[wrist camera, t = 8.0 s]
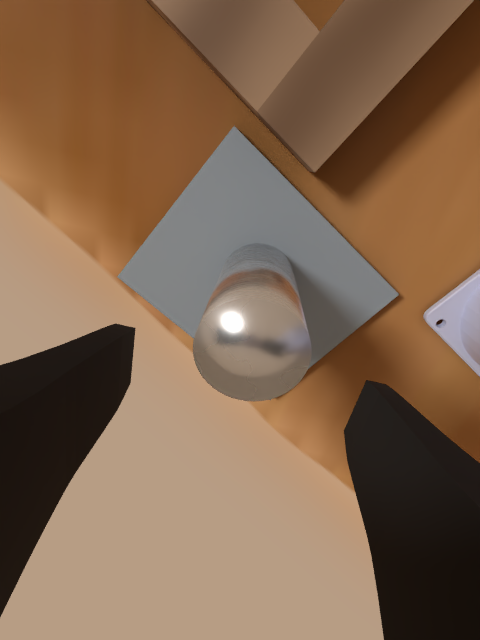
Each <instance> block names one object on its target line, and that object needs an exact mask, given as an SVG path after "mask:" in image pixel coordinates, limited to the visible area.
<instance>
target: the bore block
mask: <svg viewBox="0 0 480 640" xmlns="http://www.w3.org/2000/svg"><path fill="white" fill-rule="evenodd" d="M146 1H147V2H148V3H149V4H150V5H151V6H152V7H153V8H154V9H155V10H156V11H157V12H158V13H159V14H160V15H161V17H162V18H163V19H164V20H165V21H166V22H167V23H168V24H169V25H170V26H171V27H172V28H173V29H174V30H175V31H176V32H177V33H178V34H179V35H180V37H181V38H182V39H183V40H184V41H185V42H186V43H187V44H188V45H189V46H190V47H191V48H192V49H193V50H194V51H195V52H196V53H197V54H198V55H199V56H200V58H201V59H202V60H203V61H204V62H205V63H206V64H207V65H208V66H209V67H210V68H211V69H212V70H213V71H214V72H215V73H216V74H217V75H218V76H219V77H220V79H221V80H222V81H223V82H224V83H225V84H226V85H227V86H228V87H229V88H230V89H231V90H232V91H233V92H234V93H235V94H236V95H237V96H238V97H239V98H240V100H241V101H242V102H243V103H244V104H245V105H246V106H247V107H248V108H249V109H250V110H251V111H252V112H253V113H254V114H255V115H256V116H257V117H258V118H259V120H260V121H261V122H262V123H263V124H264V125H265V126H266V127H267V128H268V129H269V130H270V131H271V132H272V133H273V134H274V135H275V136H276V137H277V138H278V139H279V141H280V142H281V143H282V144H283V145H284V146H285V147H286V148H287V149H288V150H289V151H290V152H291V153H292V154H293V155H294V156H295V157H296V158H297V159H298V160H299V162H300V163H301V164H302V165H303V166H304V167H305V168H306V169H307V170H308V171H310V172H316V171H317V170H318V169H319V168H320V166H321V165H322V164H323V163H324V162H325V161H326V160H327V159H328V158H329V157H330V156H331V155H332V153H333V152H334V151H335V150H336V149H337V148H338V147H339V146H340V145H341V144H342V143H343V142H344V140H345V139H346V138H347V137H348V136H349V135H350V134H351V133H352V132H353V131H354V130H355V129H356V127H357V126H358V125H359V124H360V123H361V122H362V121H363V120H364V119H365V118H366V117H367V116H368V114H369V113H370V112H371V111H372V110H373V109H374V108H375V107H376V106H377V105H378V104H379V103H380V101H381V100H382V99H383V98H384V97H385V96H386V95H387V94H388V93H389V92H390V91H391V90H392V88H393V87H394V86H395V85H396V84H397V83H398V82H399V81H400V80H401V79H402V78H403V77H404V75H405V74H406V73H407V72H408V71H409V70H410V69H411V68H412V67H413V66H414V65H415V64H416V62H417V61H418V60H419V59H420V58H421V57H422V56H423V55H424V54H425V53H426V52H427V51H428V50H429V48H430V47H431V46H432V45H433V44H434V43H435V42H436V41H437V40H438V39H439V38H440V37H441V35H442V34H443V33H444V32H445V31H446V30H447V29H448V28H449V27H450V26H451V25H452V24H453V22H454V21H455V20H456V19H457V18H458V17H459V16H460V15H461V14H462V13H463V12H464V11H465V9H466V8H467V7H468V6H469V5H470V4H471V3H472V2H473V1H474V0H344V2H343V3H342V4H341V5H340V7H339V8H338V9H337V11H336V12H335V13H334V14H333V16H332V17H331V18H330V19H329V21H328V22H327V23H326V24H325V26H324V27H323V28H322V30H321V31H319V30H318V29H317V28H316V27H315V25H314V24H313V23H312V22H311V21H310V19H309V18H308V17H307V16H306V15H305V14H304V12H303V11H302V10H301V9H300V8H299V6H298V5H297V4H296V3H295V2H294V0H146Z"/></svg>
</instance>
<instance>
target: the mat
mask: <svg viewBox="0 0 480 640" xmlns="http://www.w3.org/2000/svg"><path fill="white" fill-rule="evenodd" d="M253 243H262V244H267V245H271V246H273V247H275V248H277V249H278V250H280V251H281V252H282V253H283V254H284V255H285V256H286V257H287V258H288V260H289V261H290V263H291V265H292V268H293V272H294V276H295V280H296V284H297V288H298V292H299V296H300V301H301V305H302V309H303V313H304V317H305V321H306V325H307V329H308V333H309V337H310V342H311V360H310V364H309V367H308V369H309V368H310V367H311V366H312V365H314V364H315V363H316V362H317V361H319V360H320V359H321V358H322V357H323V356H325V355H326V354H327V353H328V352H330V351H331V350H332V349H333V348H334V347H336V346H337V345H338V344H339V343H341V342H342V341H343V340H344V339H345V338H347V337H348V336H349V335H350V334H352V333H353V332H354V331H355V330H356V329H358V328H359V327H360V326H361V325H363V324H364V323H365V322H366V321H367V320H369V319H370V318H371V317H372V316H374V315H375V314H376V313H377V312H378V311H380V310H381V309H382V308H383V307H385V306H386V305H387V304H388V303H389V302H391V301H392V300H393V299H394V298H396V297H397V296H398V295H399V294H398V293H397V292H396V291H395V290H394V289H393V288H392V287H391V286H390V285H389V284H388V283H387V282H386V281H385V280H384V279H383V278H382V276H381V275H380V274H379V273H378V272H377V271H376V270H375V269H374V268H373V267H372V266H371V265H370V264H369V263H368V262H367V261H366V260H365V259H364V258H363V257H362V256H361V255H360V254H359V253H358V252H357V251H356V250H355V249H354V248H353V247H352V246H351V245H350V244H349V243H348V242H347V241H346V240H345V239H344V238H343V237H342V236H341V235H340V234H339V233H338V232H337V231H336V229H335V228H334V227H333V226H332V225H331V224H330V223H329V222H328V221H327V220H326V219H325V218H324V217H323V216H322V215H321V214H320V213H319V212H318V211H317V210H316V209H315V208H314V207H313V206H312V205H311V204H310V203H309V202H308V201H307V200H306V199H305V198H304V197H303V196H302V195H301V194H300V193H299V192H298V191H297V190H296V189H295V188H294V187H293V186H292V185H291V184H290V182H289V181H288V180H287V179H286V178H285V177H284V176H283V175H282V174H281V173H280V172H279V171H278V170H277V169H276V168H275V167H274V166H273V165H272V164H271V163H270V162H269V161H268V160H267V159H266V158H265V157H264V156H263V155H262V154H261V153H260V152H259V151H258V150H257V149H256V148H255V147H254V146H253V145H252V144H251V143H250V142H249V141H248V140H247V139H246V138H245V137H244V136H243V134H242V133H241V132H240V131H239V130H238V129H237V128H236V127H235V126H234V127H233V128H232V129H231V131H230V132H229V133H228V135H227V136H226V137H225V138H224V140H223V141H222V142H221V144H220V145H219V146H218V147H217V149H216V150H215V151H214V153H213V154H212V155H211V157H210V158H209V159H208V160H207V162H206V163H205V164H204V166H203V167H202V168H201V169H200V171H199V172H198V173H197V175H196V176H195V177H194V178H193V180H192V181H191V182H190V184H189V185H188V186H187V188H186V189H185V190H184V191H183V193H182V194H181V195H180V197H179V198H178V199H177V200H176V202H175V203H174V204H173V206H172V207H171V208H170V209H169V211H168V212H167V213H166V215H165V216H164V217H163V219H162V220H161V221H160V222H159V224H158V225H157V226H156V228H155V229H154V230H153V231H152V233H151V234H150V235H149V237H148V238H147V239H146V241H145V242H144V243H143V244H142V246H141V247H140V248H139V250H138V251H137V252H136V253H135V255H134V256H133V257H132V259H131V260H130V261H129V262H128V264H127V265H126V266H125V268H124V269H123V270H122V272H121V273H120V274H119V275H118V278H119V279H121V280H122V281H123V282H124V283H126V284H127V285H128V286H129V287H130V288H132V289H133V290H134V291H135V292H137V293H138V294H139V295H140V296H142V297H143V298H144V299H145V300H147V301H148V302H149V303H150V304H152V305H153V306H154V307H155V308H157V309H158V310H159V311H160V312H161V313H163V314H164V315H165V316H166V317H168V318H169V319H170V320H171V321H173V322H174V323H175V324H176V325H178V326H179V327H180V328H181V329H183V330H184V331H185V332H186V333H187V334H189V335H190V336H191V337H192V338H194V337H195V333H196V331H197V328H198V326H199V323H200V321H201V319H202V316H203V314H204V311H205V309H206V307H207V304H208V302H209V299H210V297H211V294H212V292H213V290H214V287H215V285H216V282H217V280H218V277H219V275H220V273H221V270H222V268H223V265H224V263H225V261H226V260H227V258H228V257H229V256H230V255H231V254H232V253H233V252H234V251H235V250H237V249H238V248H240V247H242V246H244V245H247V244H253ZM308 369H307V370H308ZM269 400H271V399H269Z"/></svg>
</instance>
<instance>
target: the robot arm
mask: <svg viewBox="0 0 480 640" xmlns="http://www.w3.org/2000/svg"><path fill="white" fill-rule="evenodd" d="M423 316H424V320H425V321H426V322H427V324H428V325H429V326H430V327H431V328H432V329H433V330H434V331H435V332H436V333H437V334H438V335H439V336H440V337H441V338H442V339H443V340H444V341H445V342H446V343H447V344H448V345H449V346H450V347H451V348H452V349H453V350H454V351H455V352H456V353H457V354H458V355H459V356H460V357H461V358H462V359H463V360H464V361H465V362H466V363H467V364H468V365H469V366H470V367H471V368H472V369H473V371H474V372H475V373H476V374H477V375H478V376H479V377H480V269H479V270H478V271H477V272H475V273H474V274H473V275H471V276H470V277H469V278H468V279H466V280H465V281H464V282H462V283H461V284H460V285H458V286H457V287H456V288H455V289H453V290H452V291H451V292H449V293H448V294H447V295H446V296H444V297H443V298H442V299H440V300H439V301H438V302H436V303H435V304H434V305H433V306H431V307H430V308H429V309H427V310H426V312H425V313H424V315H423ZM440 319H443V321H442V323H441V324H439V325H436V322H437V321H438V320H440ZM134 336H135V328H133V327H128V326H124V325H119V324H113V325H110V326H107V327H105V328H102V329H100V330H97V331H94V332H92V333H89V334H87V335H85V336H82V337H80V338H77V339H75V340H72V341H70V342H67V343H65V344H62V345H60V346H57V347H54V348H51V349H48V350H45V351H43V352H40V353H37V354H34V355H31V356H29V357H26V358H23V359H19V360H16V361H13V362H10V363H6V364H3V365H0V617H1V614H2V613H3V610H4V608H5V606H6V604H7V602H8V600H9V598H10V596H11V594H12V592H13V590H14V588H15V586H16V584H17V582H18V580H19V578H20V576H21V574H22V572H23V569H24V568H25V566H26V564H27V562H28V560H29V558H30V556H31V554H32V552H33V550H34V548H35V546H36V544H37V542H38V540H39V538H40V536H41V534H42V532H43V531H44V529H45V527H46V525H47V523H48V521H49V519H50V517H51V515H52V513H53V512H54V510H55V508H56V506H57V504H58V502H59V500H60V499H61V497H62V495H63V493H64V491H65V489H66V487H67V486H68V484H69V483H70V481H71V479H72V478H73V476H74V474H75V473H76V471H77V470H78V468H79V467H80V465H81V464H82V462H83V461H84V459H85V458H86V456H87V454H88V453H89V452H90V450H91V449H92V447H93V446H94V444H95V443H96V441H97V440H98V438H99V437H100V436H101V434H102V432H103V431H104V430H105V428H106V426H107V425H108V423H109V422H110V420H111V419H112V417H113V416H114V414H115V413H116V411H117V409H118V408H119V405H120V404H121V401H122V400H123V398H124V395H125V393H126V391H127V389H128V387H129V385H130V382H131V371H132V359H133V349H134ZM344 435H345V445H346V453H347V461H348V465H349V469H350V473H351V477H352V481H353V485H354V489H355V492H356V496H357V500H358V504H359V507H360V511H361V515H362V518H363V522H364V526H365V530H366V533H367V537H368V542H369V546H370V551H371V555H372V562H373V568H374V574H375V580H376V586H377V592H378V599H379V606H380V613H381V620H382V628H383V635H384V640H480V463H478V462H477V461H476V460H475V459H473V458H472V457H471V456H470V455H469V454H467V453H466V452H465V451H464V450H462V449H461V448H460V447H459V446H457V445H456V444H455V443H454V442H453V441H452V440H450V439H449V438H448V437H447V436H446V435H444V434H443V433H442V432H441V431H440V430H439V429H438V428H436V427H435V426H434V425H433V424H432V423H431V422H430V421H428V420H427V419H426V418H425V417H424V416H423V415H422V414H421V413H420V412H418V411H417V410H416V409H415V408H414V407H413V406H412V405H411V404H409V403H408V402H407V401H406V400H405V399H404V398H403V397H401V396H400V395H399V394H398V393H397V392H395V391H394V390H393V389H392V388H390V387H389V386H387V385H386V384H381V383H377V382H373V381H368V380H366V383H365V385H364V387H363V389H362V391H361V394H360V396H359V398H358V400H357V403H356V405H355V407H354V409H353V412H352V414H351V416H350V418H349V421H348V423H347V425H346V427H345V430H344Z"/></svg>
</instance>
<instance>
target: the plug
mask: <svg viewBox="0 0 480 640" xmlns="http://www.w3.org/2000/svg"><path fill="white" fill-rule="evenodd" d="M193 355H194V360H195V363H196V366H197V368H198V370H199V372H200V374H201V375H202V376H203V378H204V379H205V380H206V381H207V383H208V384H210V385H211V386H212V387H213V388H214V389H216V390H217V391H219V392H220V393H222V394H224V395H226V396H229V397H231V398H235V399H238V400H244V401H263V400H269V399H273V398H276V397H278V396H281V395H283V394H285V393H287V392H288V391H290V390H291V389H292V388H294V387H295V386H296V385H297V384H298V383H299V382H300V381H301V379H302V378H303V377H304V375H305V373H306V372H307V369H308V367H309V364H310V360H311V342H310V337H309V333H308V329H307V325H306V321H305V317H304V313H303V309H302V305H301V301H300V296H299V292H298V288H297V284H296V280H295V276H294V272H293V268H292V265H291V263H290V261H289V260H288V258H287V257H286V256H285V255H284V254H283V253H282V252H281V251H280V250H278V249H277V248H275V247H273V246H271V245H267V244H262V243H253V244H247V245H244V246H242V247H240V248H238V249H237V250H235V251H234V252H233V253H232V254H231V255H230V256H229V257H228V258H227V260H226V261H225V263H224V265H223V268H222V270H221V273H220V275H219V277H218V280H217V282H216V285H215V287H214V290H213V292H212V294H211V297H210V299H209V302H208V304H207V307H206V309H205V311H204V314H203V316H202V319H201V321H200V323H199V326H198V328H197V331H196V333H195V337H194V341H193Z"/></svg>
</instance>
